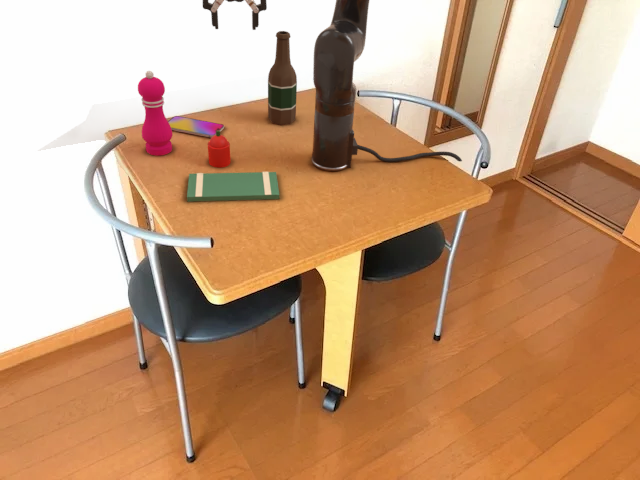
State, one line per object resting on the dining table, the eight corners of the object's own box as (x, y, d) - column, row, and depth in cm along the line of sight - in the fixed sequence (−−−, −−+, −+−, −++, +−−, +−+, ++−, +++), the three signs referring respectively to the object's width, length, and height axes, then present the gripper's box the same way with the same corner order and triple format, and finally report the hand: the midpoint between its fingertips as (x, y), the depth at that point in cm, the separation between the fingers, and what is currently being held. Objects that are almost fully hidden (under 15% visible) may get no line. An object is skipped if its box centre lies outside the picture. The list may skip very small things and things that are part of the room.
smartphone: (175, 115, 152) (225, 124, 149) (175, 117, 152) (225, 127, 149) (161, 126, 146) (213, 136, 143) (162, 128, 147) (213, 138, 143)
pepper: (230, 157, 137) (229, 126, 132) (230, 167, 132) (229, 136, 127) (209, 157, 136) (206, 126, 131) (208, 167, 132) (206, 136, 127)
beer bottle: (294, 126, 152) (297, 38, 138) (266, 124, 152) (266, 36, 138) (296, 114, 159) (299, 28, 144) (269, 113, 158) (269, 27, 144)
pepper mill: (166, 158, 134) (157, 78, 122) (139, 154, 135) (126, 74, 123) (178, 145, 140) (170, 67, 128) (152, 141, 141) (141, 63, 129)
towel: (276, 176, 130) (276, 171, 130) (279, 199, 123) (279, 194, 122) (189, 178, 127) (189, 173, 127) (187, 201, 120) (186, 196, 119)
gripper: (198, -47, 114) (204, 33, 124) (267, -45, 116) (267, 34, 126) (199, -54, 120) (204, 23, 130) (265, -52, 122) (265, 24, 132)
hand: (235, 28), depth 128 cm, fingers open, 8 cm apart
